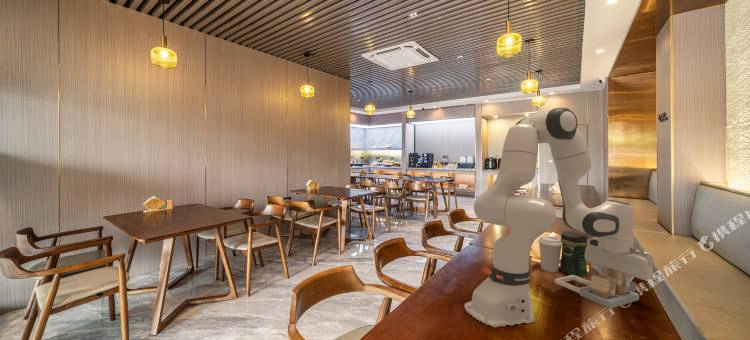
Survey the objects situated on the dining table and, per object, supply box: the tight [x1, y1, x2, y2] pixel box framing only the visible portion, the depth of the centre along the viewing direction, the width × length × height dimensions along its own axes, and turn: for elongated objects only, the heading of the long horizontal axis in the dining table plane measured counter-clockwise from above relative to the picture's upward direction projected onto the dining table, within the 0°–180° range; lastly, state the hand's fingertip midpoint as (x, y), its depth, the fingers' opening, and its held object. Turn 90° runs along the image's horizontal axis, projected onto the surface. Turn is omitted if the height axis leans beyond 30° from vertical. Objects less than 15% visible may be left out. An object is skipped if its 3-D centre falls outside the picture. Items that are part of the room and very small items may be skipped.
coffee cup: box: [537, 235, 563, 273], centre depth 132 cm, size 10×10×15 cm
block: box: [604, 268, 628, 295], centre depth 107 cm, size 5×5×8 cm
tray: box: [554, 274, 591, 294], centre depth 115 cm, size 11×10×2 cm
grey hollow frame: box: [579, 287, 640, 309], centre depth 105 cm, size 16×10×3 cm, turn 112°
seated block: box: [590, 273, 616, 300], centre depth 104 cm, size 5×5×8 cm
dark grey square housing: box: [628, 280, 637, 293], centre depth 113 cm, size 7×7×4 cm
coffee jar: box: [559, 230, 589, 277], centre depth 129 cm, size 10×8×19 cm
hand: (615, 282), depth 107 cm, fingers closed on block, 5 cm apart
